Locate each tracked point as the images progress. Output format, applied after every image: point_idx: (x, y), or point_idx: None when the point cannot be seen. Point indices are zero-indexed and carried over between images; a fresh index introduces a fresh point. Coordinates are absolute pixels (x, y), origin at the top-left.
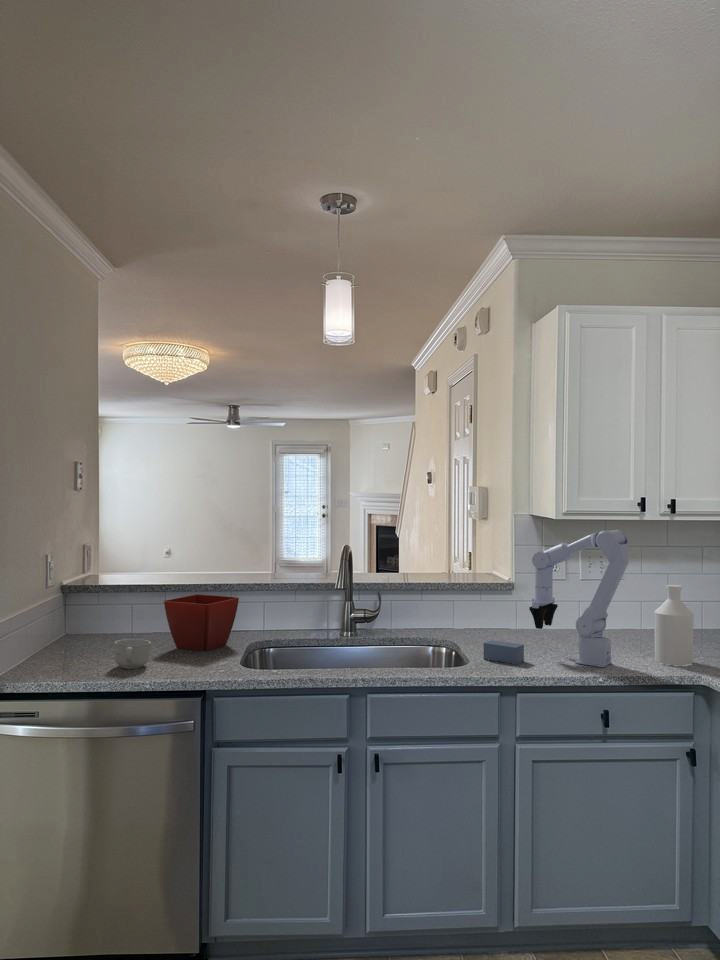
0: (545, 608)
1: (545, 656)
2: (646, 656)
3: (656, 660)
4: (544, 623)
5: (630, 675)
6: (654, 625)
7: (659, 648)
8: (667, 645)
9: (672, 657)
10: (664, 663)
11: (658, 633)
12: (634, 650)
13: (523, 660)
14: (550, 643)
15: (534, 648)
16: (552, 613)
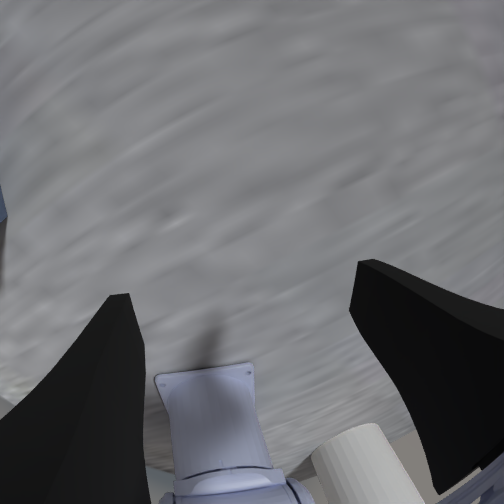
0: (478, 388)
1: (181, 234)
2: (381, 405)
3: (331, 442)
4: (367, 263)
5: (161, 465)
6: (377, 498)
7: (332, 473)
8: (325, 489)
9: (316, 472)
10: (314, 453)
11: (346, 499)
12: None
13: (3, 218)
14: (457, 129)
15: (334, 93)
16: (411, 407)
